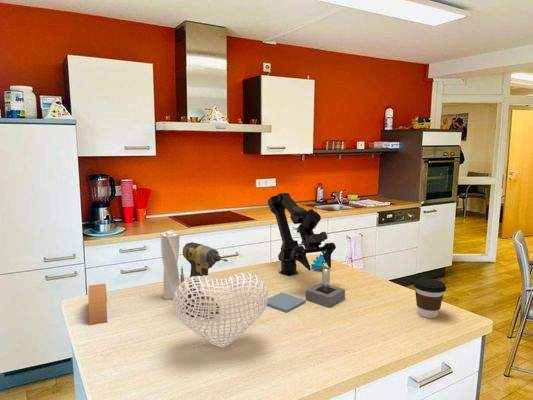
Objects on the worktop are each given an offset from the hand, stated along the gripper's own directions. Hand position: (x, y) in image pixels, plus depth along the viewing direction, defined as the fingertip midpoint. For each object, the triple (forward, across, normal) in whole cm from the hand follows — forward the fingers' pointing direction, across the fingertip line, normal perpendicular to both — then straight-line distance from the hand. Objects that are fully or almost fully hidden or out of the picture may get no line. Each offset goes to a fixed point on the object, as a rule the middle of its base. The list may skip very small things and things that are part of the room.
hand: (320, 268), depth 158 cm
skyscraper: (-6, -55, +22) cm, 60 cm away
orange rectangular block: (-3, -82, +19) cm, 85 cm away
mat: (+9, -17, +7) cm, 20 cm away
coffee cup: (+29, +28, -13) cm, 42 cm away
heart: (+25, -47, -9) cm, 54 cm away
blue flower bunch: (-12, +16, +28) cm, 34 cm away
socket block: (+11, 0, +5) cm, 12 cm away
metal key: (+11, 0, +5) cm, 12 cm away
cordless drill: (+8, -47, +8) cm, 48 cm away
